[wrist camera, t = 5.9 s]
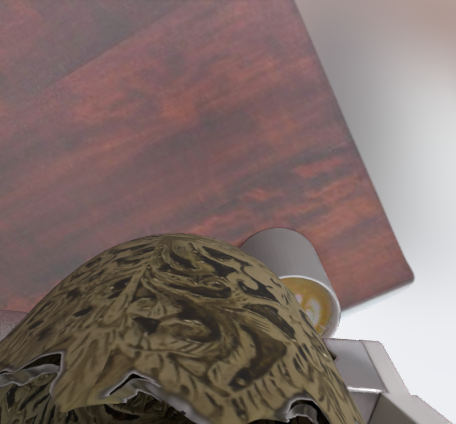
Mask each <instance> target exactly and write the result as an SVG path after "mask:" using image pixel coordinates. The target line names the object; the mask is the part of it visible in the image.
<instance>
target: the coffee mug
mask: <svg viewBox="0 0 456 424" xmlns="http://www.w3.org/2000/svg"><path fill="white" fill-rule="evenodd" d="M240 249H241V250H243V251H245V252H247V253H248V254H250V255H252V256H253V257H255V258H256V259H258V260H259V261H260V262H262V263H263V264H265V265H266V266H267V267H268V268H269V269H271V270H272V271H273V272H274V273H275V274H276V275H277V276H278V277H279V278H280V280H281V281H282V282H283V283H284V284H285V285H286V286H287V288H288V289H289V290H290V291H291V292H292V293H293V295H294V296H295V298H296V299H297V301H298V302H299V303H300V305H301V306H302V308H303V309H304V311H305V312H306V314H307V315H308V317H309V318H310V320H311V322H312V323H313V325H314V327H315V329H316V330H317V332H318V334H319V335H320V337H322V338H332V337H333V335H334V333H335V332H336V330H337V328H338V326H339V322H340V317H341V310H340V305H339V301H338V299H337V296H336V294H335V292H334V290H333V288H332V285H331V283H330V281H329V279H328V277H327V275H326V273H325V271H324V268H323V266H322V264H321V262H320V260H319V258H318V256H317V254H316V251H315V249H314V247H313V246H312V244H311V243H310V241H309V240H308V239H307V238H305V237H304V236H303V235H301V234H300V233H298V232H296V231H293V230H289V229H285V228H272V229H267V230H263V231H260V232H258V233H256V234H254V235H253V236H251V237H250V238H248V239H247V240H246V241H245V242H244V243H243V245H242V246H241V247H240Z"/></svg>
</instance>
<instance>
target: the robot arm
mask: <svg viewBox="0 0 456 424" xmlns="http://www.w3.org/2000/svg"><path fill="white" fill-rule="evenodd" d="M27 314H28V312H18V311H9V310H0V342H1V341H2V340H3V339H4V338H5V337H6V335H7V334H8V333H9V332H10V331H11V330H12V329H13V328H14V327H15V326H16V325H17V324H18V323H19V322H20V321H21V320H22V319H23V318H24V317H25V316H26V315H27ZM321 339H322V341H323V343H324V345H325V347H326V348H327V350H328V352H329V354H330V356H331V358H332V360H333V362H334V363H335V365H336V367H337V369H338V371H339V373H340V375H341V377H342V379H343V381H344V382H345V384H346V386H347V388H348V390H349V392H350V394H351V396H352V398H353V400H354V402H355V404H356V406H357V408H358V409H359V411H360V413H361V415H362V417H363V419H364V421H365V423H366V424H453V423H452V422H450V421H449V420H448V419H446V418H445V417H444V416H443V415H441V414H440V413H439V412H437V411H436V410H435V409H433V408H432V407H431V406H430V405H428V404H427V403H426V402H425V401H423V400H422V399H421V398H419V397H418V396H416V395H410V393H409V391H408V390H407V388H406V386H405V384H404V382H403V380H402V379H401V377H400V375H399V373H398V371H397V370H396V368H395V366H394V364H393V362H392V361H391V359H390V357H389V355H388V353H387V352H386V350H385V348H384V346H383V345H382V344H381V343H380V342H379V341H367V340H348V339H335V338H322V337H321Z"/></svg>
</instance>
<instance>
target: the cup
mask: <svg viewBox="0 0 456 424" xmlns="http://www.w3.org/2000/svg"><path fill="white" fill-rule="evenodd" d="M0 424H366V423H365V421H364V419H363V417H362V415H361V413H360V411H359V409H358V408H357V406H356V404H355V402H354V400H353V398H352V396H351V394H350V392H349V390H348V388H347V386H346V384H345V382H344V381H343V379H342V377H341V375H340V373H339V371H338V369H337V367H336V365H335V363H334V362H333V360H332V358H331V356H330V354H329V352H328V350H327V348H326V347H325V345H324V343H323V341H322V339H321V337H320V335H319V334H318V332H317V330H316V329H315V327H314V325H313V323H312V322H311V320H310V318H309V317H308V315H307V314H306V312H305V311H304V309H303V308H302V306H301V305H300V303H299V302H298V301H297V299H296V298H295V296H294V295H293V293H292V292H291V291H290V290H289V289H288V288H287V286H286V285H285V284H284V283H283V282H282V281H281V280H280V278H279V277H278V276H277V275H276V274H275V273H274V272H273V271H272V270H271V269H269V268H268V267H267V266H266V265H265V264H263V263H262V262H260V261H259V260H258V259H256V258H255V257H253V256H252V255H250V254H248V253H247V252H245V251H243V250H241V249H239V248H238V247H236V246H233V245H231V244H228V243H226V242H224V241H220V240H217V239H214V238H210V237H205V236H201V235H196V234H183V233H167V234H158V235H151V236H146V237H142V238H138V239H134V240H131V241H128V242H125V243H122V244H119V245H116V246H114V247H112V248H110V249H108V250H105V251H104V252H102V253H100V254H99V255H97V256H95V257H94V258H92V259H91V260H89V261H88V262H86V263H84V264H83V265H81V266H80V267H79V268H77V269H76V270H75V271H74V272H72V273H71V274H70V275H69V276H67V277H66V278H65V279H64V280H63V281H61V282H60V283H59V284H58V285H57V286H56V287H54V288H53V289H52V290H51V291H50V292H49V293H48V294H47V295H46V296H45V297H44V298H43V299H42V300H41V301H40V302H39V303H38V304H37V305H36V306H35V307H34V308H33V309H32V310H31V311H30V312H29V313H28V314H27V315H26V316H25V317H24V318H23V319H22V320H21V321H20V322H19V323H18V324H17V325H16V326H15V327H14V328H13V329H12V330H11V331H10V332H9V333H8V334H7V335H6V337H5V338H4V339H3V340H2V341H1V342H0Z"/></svg>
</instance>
